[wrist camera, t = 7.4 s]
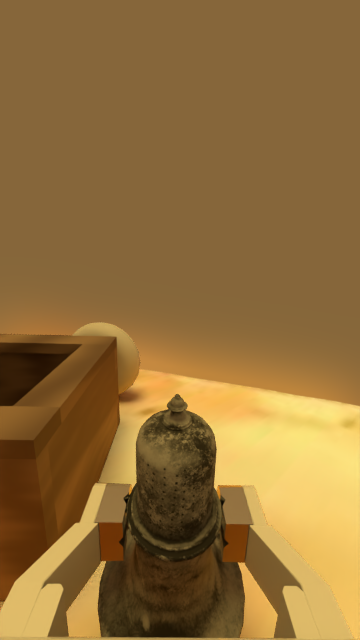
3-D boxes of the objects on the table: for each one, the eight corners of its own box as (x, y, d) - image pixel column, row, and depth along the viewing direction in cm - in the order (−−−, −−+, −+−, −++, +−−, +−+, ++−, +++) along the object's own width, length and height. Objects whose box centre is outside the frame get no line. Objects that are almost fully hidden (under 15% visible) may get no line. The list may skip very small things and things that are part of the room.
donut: (144, 392, 34) (143, 322, 32) (135, 407, 31) (133, 329, 28) (77, 385, 36) (71, 317, 33) (62, 397, 32) (54, 323, 30)
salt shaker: (185, 536, 15) (194, 351, 12) (267, 664, 10) (310, 411, 8) (85, 609, 12) (65, 380, 9) (138, 841, 7) (130, 517, 4)
